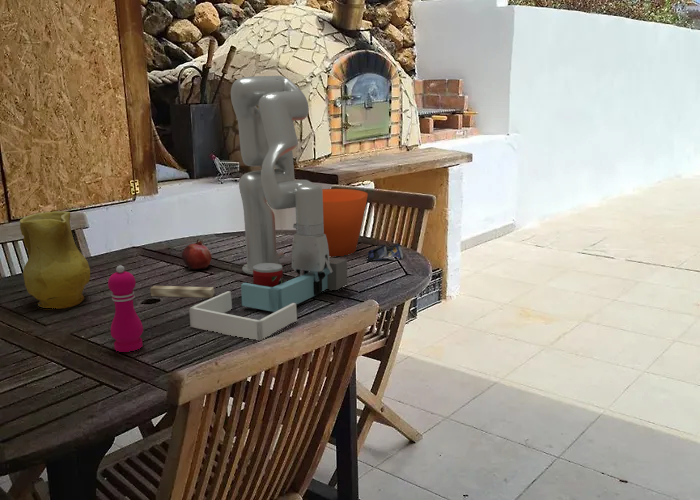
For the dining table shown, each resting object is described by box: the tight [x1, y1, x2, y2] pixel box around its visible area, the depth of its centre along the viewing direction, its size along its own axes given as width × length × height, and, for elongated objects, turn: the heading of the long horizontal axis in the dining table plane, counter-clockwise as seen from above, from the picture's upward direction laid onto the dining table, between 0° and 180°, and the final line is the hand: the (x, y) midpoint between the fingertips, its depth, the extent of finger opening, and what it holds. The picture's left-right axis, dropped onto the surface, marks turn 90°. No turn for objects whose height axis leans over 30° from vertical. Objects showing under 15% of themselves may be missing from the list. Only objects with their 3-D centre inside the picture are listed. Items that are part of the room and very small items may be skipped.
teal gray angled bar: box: [240, 257, 348, 313], centre depth 196 cm, size 30×15×8 cm, turn 150°
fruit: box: [181, 238, 213, 271], centre depth 226 cm, size 9×10×10 cm
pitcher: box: [19, 210, 91, 310], centre depth 194 cm, size 17×19×25 cm
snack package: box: [365, 243, 404, 262], centre depth 234 cm, size 12×6×12 cm
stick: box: [149, 285, 215, 299], centre depth 200 cm, size 18×3×3 cm, turn 81°
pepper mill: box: [107, 264, 144, 353], centre depth 161 cm, size 7×7×20 cm
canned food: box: [252, 263, 284, 287], centre depth 189 cm, size 8×8×11 cm
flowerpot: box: [322, 188, 369, 258], centre depth 243 cm, size 25×25×20 cm
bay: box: [188, 290, 298, 340], centre depth 176 cm, size 15×22×5 cm
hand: (312, 292), depth 198 cm, fingers closed on teal gray angled bar, 3 cm apart
